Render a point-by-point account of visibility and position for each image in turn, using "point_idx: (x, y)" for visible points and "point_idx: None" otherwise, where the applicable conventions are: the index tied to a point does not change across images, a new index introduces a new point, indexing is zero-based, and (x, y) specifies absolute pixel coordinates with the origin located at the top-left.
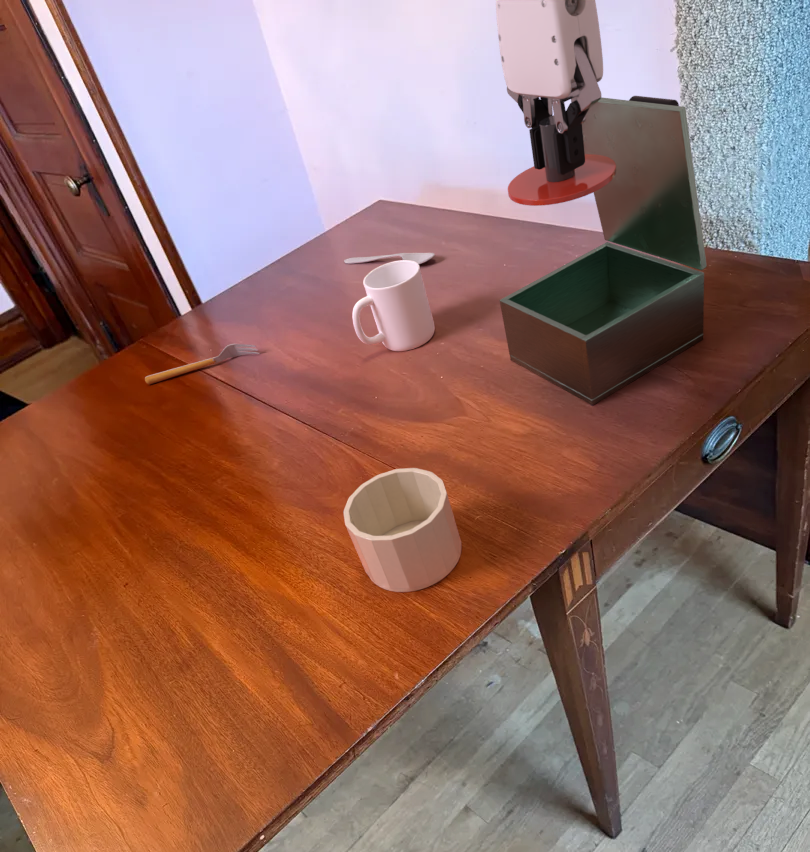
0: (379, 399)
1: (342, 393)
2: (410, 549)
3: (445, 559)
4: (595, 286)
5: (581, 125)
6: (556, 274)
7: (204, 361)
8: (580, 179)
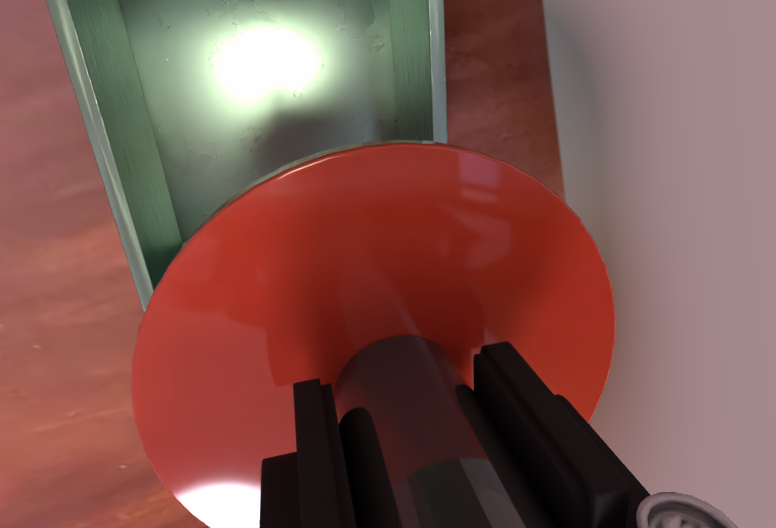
0: (133, 463)
1: (63, 507)
2: None
3: None
4: (101, 3)
5: (614, 470)
6: (111, 141)
7: None
8: None
